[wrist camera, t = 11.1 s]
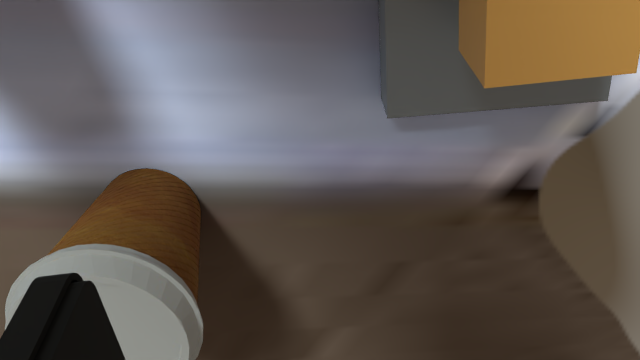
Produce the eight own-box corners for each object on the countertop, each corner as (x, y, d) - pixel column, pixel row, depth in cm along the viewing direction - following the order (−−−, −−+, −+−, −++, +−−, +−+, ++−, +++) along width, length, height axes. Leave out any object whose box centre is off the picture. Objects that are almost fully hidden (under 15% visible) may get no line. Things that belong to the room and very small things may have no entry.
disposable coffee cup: (241, 256, 41) (222, 399, 31) (107, 279, 42) (43, 426, 32) (203, 131, 37) (165, 250, 26) (52, 159, 37) (-44, 285, 27)
